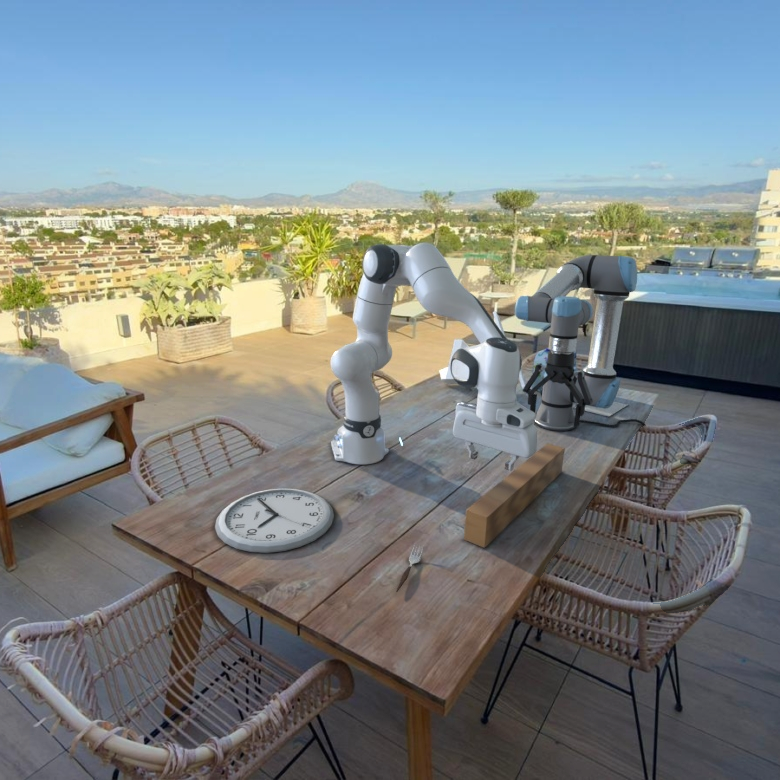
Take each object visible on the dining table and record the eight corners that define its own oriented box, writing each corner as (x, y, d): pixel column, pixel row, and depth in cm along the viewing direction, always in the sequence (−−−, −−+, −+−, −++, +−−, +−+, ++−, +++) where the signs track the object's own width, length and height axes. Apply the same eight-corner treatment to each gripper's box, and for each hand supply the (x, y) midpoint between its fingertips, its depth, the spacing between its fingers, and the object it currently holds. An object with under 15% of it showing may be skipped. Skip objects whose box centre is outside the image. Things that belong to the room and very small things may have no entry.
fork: (390, 592, 109) (390, 584, 108) (413, 550, 123) (413, 543, 123) (402, 595, 108) (402, 587, 107) (424, 552, 122) (424, 545, 122)
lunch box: (548, 398, 236) (553, 353, 229) (527, 393, 243) (531, 349, 237) (575, 387, 253) (581, 344, 247) (555, 382, 260) (560, 341, 254)
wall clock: (332, 544, 122) (200, 548, 120) (332, 550, 123) (201, 555, 120) (334, 484, 151) (228, 486, 148) (334, 489, 151) (228, 491, 149)
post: (544, 467, 168) (547, 443, 166) (561, 472, 165) (564, 447, 162) (463, 539, 128) (466, 509, 126) (484, 548, 125) (487, 517, 122)
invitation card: (608, 416, 214) (573, 407, 224) (608, 416, 214) (573, 408, 224) (628, 404, 229) (594, 396, 238) (628, 405, 229) (594, 397, 238)
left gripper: (449, 402, 124) (446, 455, 128) (531, 423, 112) (525, 481, 117) (463, 396, 129) (459, 447, 133) (543, 415, 117) (536, 471, 121)
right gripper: (515, 347, 155) (509, 414, 161) (602, 360, 141) (592, 433, 147) (525, 343, 161) (519, 408, 167) (610, 355, 146) (600, 426, 153)
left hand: (490, 463), depth 125 cm, fingers open, 8 cm apart
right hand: (553, 420), depth 157 cm, fingers open, 13 cm apart
